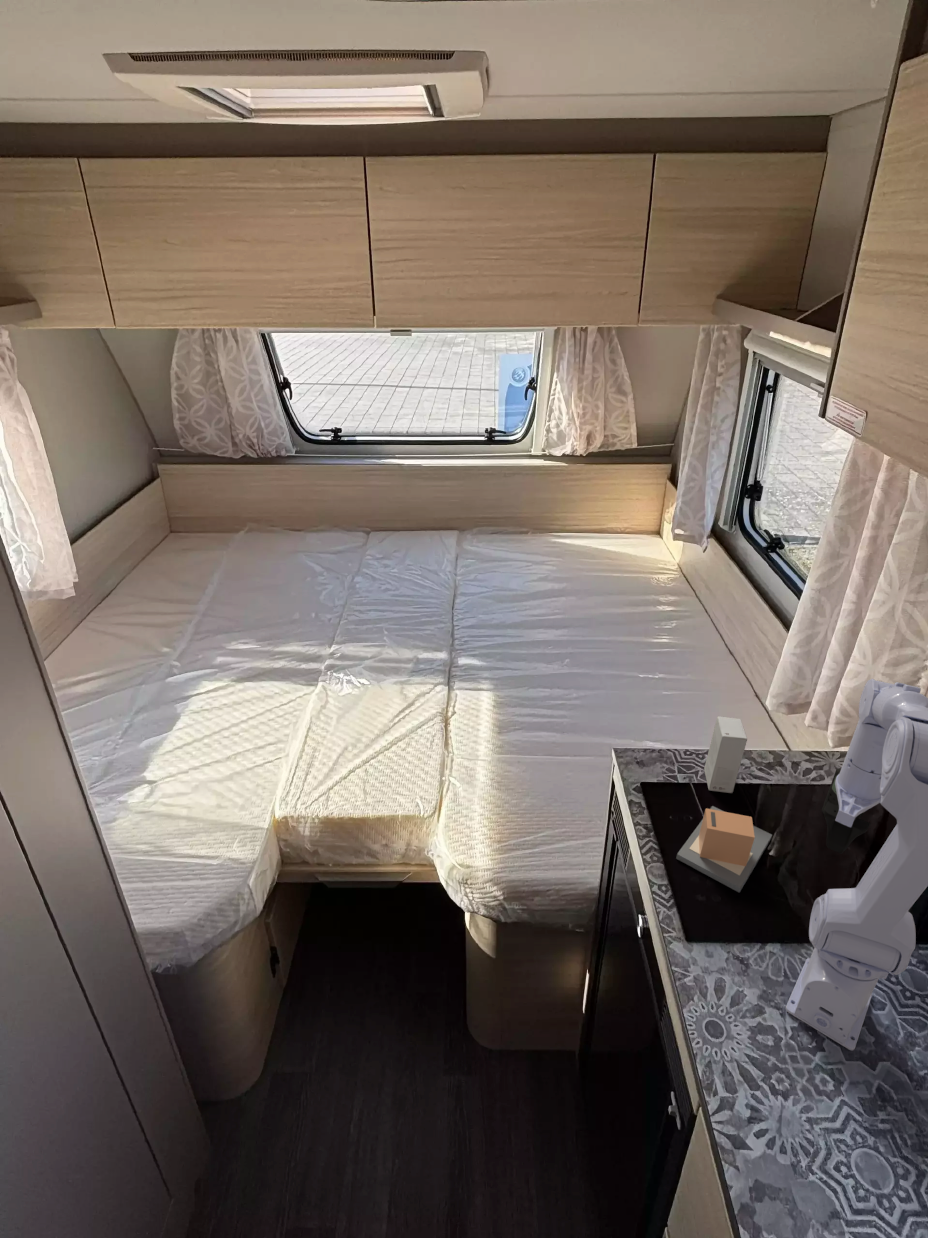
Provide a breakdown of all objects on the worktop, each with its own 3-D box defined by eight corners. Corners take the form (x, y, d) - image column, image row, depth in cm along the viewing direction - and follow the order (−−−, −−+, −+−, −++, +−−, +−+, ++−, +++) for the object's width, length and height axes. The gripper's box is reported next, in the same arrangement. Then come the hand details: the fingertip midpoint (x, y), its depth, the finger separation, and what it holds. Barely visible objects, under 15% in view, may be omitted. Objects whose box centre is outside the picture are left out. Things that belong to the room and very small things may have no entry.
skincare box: (733, 794, 123) (748, 739, 117) (708, 791, 123) (721, 736, 118) (727, 771, 128) (741, 718, 122) (703, 768, 128) (716, 715, 123)
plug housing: (746, 866, 107) (754, 837, 104) (699, 857, 108) (707, 827, 105) (743, 845, 111) (751, 816, 108) (698, 836, 112) (705, 807, 109)
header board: (739, 892, 104) (745, 873, 102) (676, 858, 109) (680, 839, 107) (770, 839, 113) (776, 820, 111) (711, 810, 119) (716, 791, 117)
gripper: (890, 802, 88) (859, 878, 95) (913, 747, 98) (883, 819, 105) (831, 777, 92) (805, 852, 99) (858, 727, 102) (833, 798, 109)
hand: (841, 834), depth 102 cm, fingers open, 7 cm apart
